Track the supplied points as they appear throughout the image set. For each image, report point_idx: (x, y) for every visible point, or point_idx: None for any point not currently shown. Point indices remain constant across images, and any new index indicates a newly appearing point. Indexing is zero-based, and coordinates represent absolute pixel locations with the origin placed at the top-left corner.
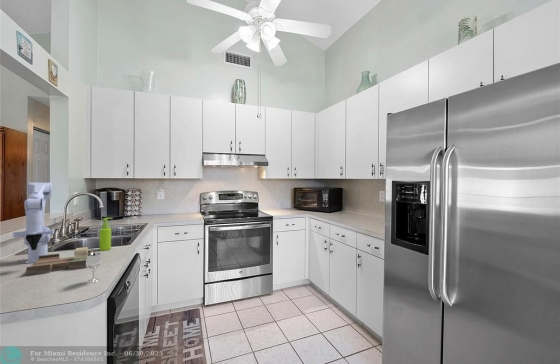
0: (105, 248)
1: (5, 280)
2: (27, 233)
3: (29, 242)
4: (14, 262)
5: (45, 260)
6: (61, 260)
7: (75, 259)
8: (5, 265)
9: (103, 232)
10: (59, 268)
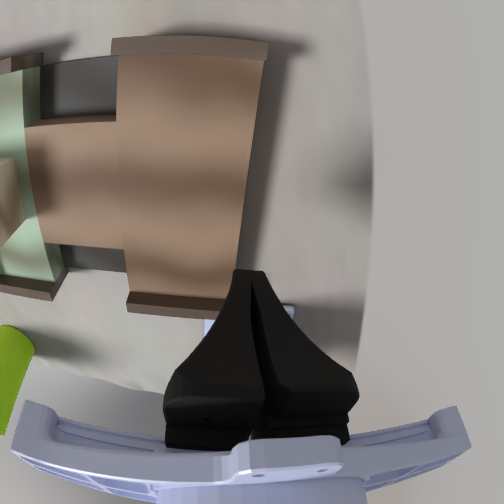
0: (2, 332)
1: (360, 29)
2: (353, 460)
3: (296, 333)
4: (330, 338)
5: (183, 244)
6: (83, 191)
7: (7, 158)
8: (360, 314)
9: None
10: (87, 93)
